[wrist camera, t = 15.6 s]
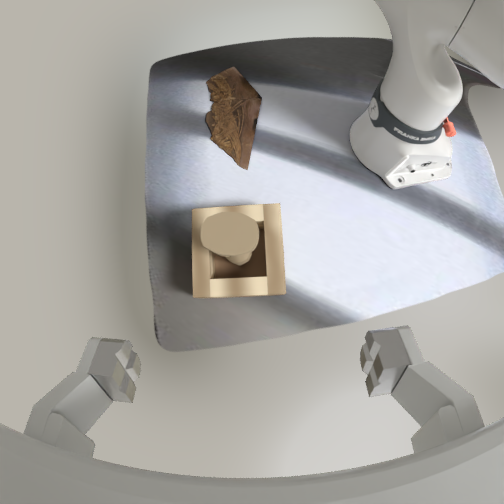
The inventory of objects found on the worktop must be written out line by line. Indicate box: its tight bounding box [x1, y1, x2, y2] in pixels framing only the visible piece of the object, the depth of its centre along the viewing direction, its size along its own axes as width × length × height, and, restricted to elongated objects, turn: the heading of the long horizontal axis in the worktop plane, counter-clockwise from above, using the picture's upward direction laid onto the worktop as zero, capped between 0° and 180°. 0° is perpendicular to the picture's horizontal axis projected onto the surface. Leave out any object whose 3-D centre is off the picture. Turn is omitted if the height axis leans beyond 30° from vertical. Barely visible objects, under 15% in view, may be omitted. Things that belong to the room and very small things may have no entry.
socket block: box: [192, 203, 286, 298], centre depth 45 cm, size 13×13×6 cm
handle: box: [201, 212, 259, 266], centre depth 40 cm, size 5×6×15 cm
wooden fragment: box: [206, 67, 262, 170], centre depth 53 cm, size 26×11×1 cm, turn 4°
